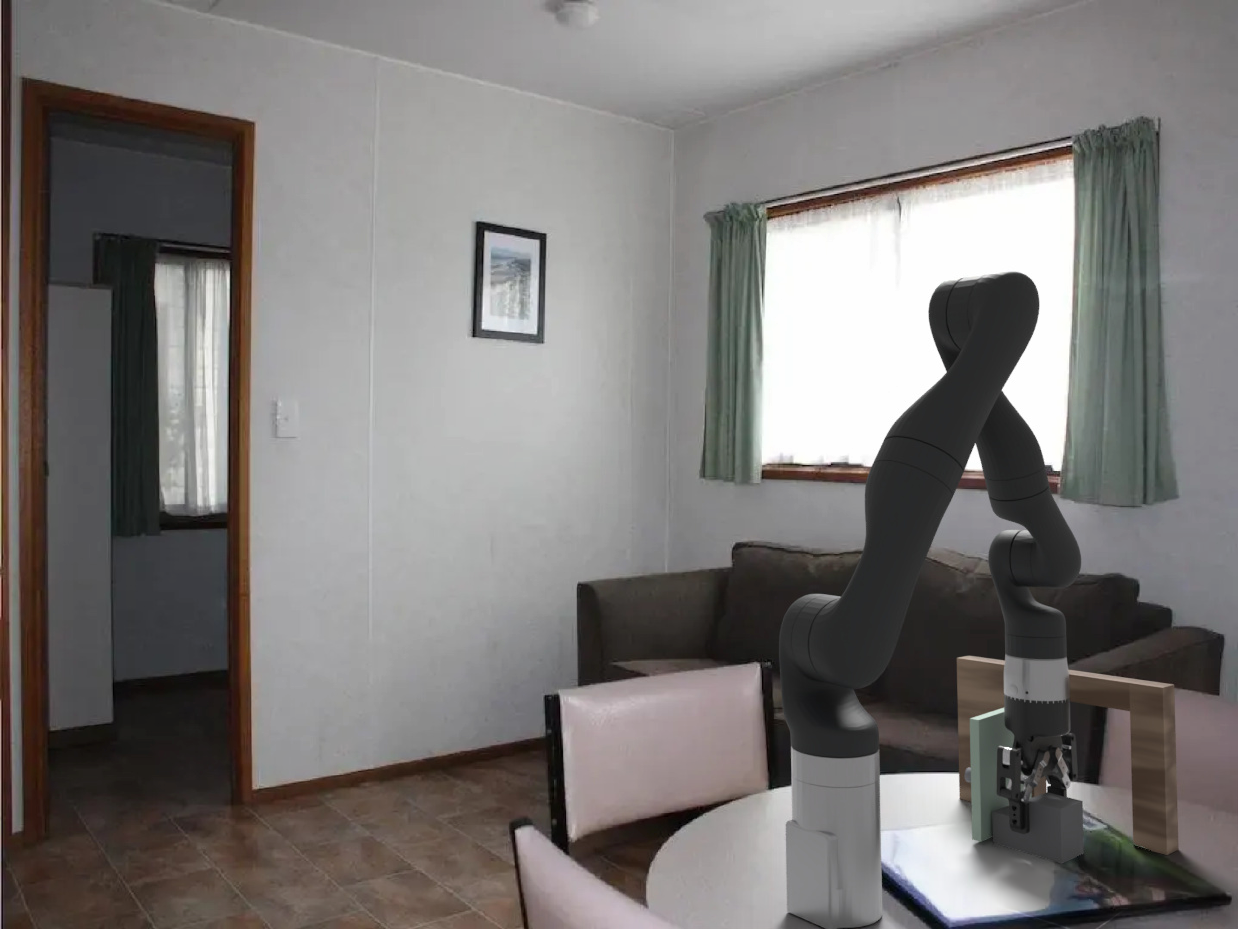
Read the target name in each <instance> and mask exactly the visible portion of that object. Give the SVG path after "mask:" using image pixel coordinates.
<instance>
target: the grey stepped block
mask: <svg viewBox="0 0 1238 929" xmlns="http://www.w3.org/2000/svg"><path fill="white" fill-rule="evenodd" d="M1028 803H1029V820H1030V831H1029V832H1028V833H1026V834H1021V833H1018V832H1014V831H1012V830H1011V829H1010V824H1009V819H1010V818H1009V806H1007V807H1004V808H1001V809H998V810H995V811H992V818H993V836H992V843H993V844H996V845H999V846H1003V847H1006V848H1008V847H1009V849H1011V850H1015V851H1017V852H1018V851H1019V852H1022V853H1024V854H1025V853H1026V854H1028V855H1031V856H1035V857H1038V858H1042V859H1045V860H1048V861H1051V862H1055V863H1058V864H1064V863H1066V862H1068V861H1071V860H1074V859H1075V858H1077V856H1078V857H1079V855H1080V856H1082V855H1083V854H1082V853H1084V852H1085V850H1084V814H1083V813H1084V811H1083V809H1084V808H1083V800H1080V799H1076V798H1071V797H1068V796H1067V797H1064V796H1060V795H1056V794H1052V793H1048V792H1047V793H1044V794H1041V795H1038V796H1036V797H1033V798H1030V799H1029V801H1028ZM1081 854H1082V855H1081Z"/></svg>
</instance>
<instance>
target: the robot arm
mask: <svg viewBox="0 0 1238 929" xmlns="http://www.w3.org/2000/svg"><path fill="white" fill-rule="evenodd" d="M1037 288H1038V287H1037V286H1036V284H1035V281H1033V279H1032V278H1030V277H1029V276H1028V275H1027V274H1025V273H1022V272H1019V271H1014V270H1013V271H1010V270H1004V271H1003V270H1001V271H991V272H985V273H978V274H971V275H963V276H957V277H954V278H949V279H947V280H944V281H942V282H941V283H939V285H938V286H937V287H936V288H935V289H934V291H933V293H932V294H931V298H930V300H929V303H928V322H929V328H930V332H931V335H932V338H933V342H934V344H935V347H936V350H937V352H938V354H939V356H940V359H941V362H942V363H943V367H944V368H945V371H946V373H944V375H943V376H942V377H941V378H940V379H939V380H938V381H937V382H935V384H933V385H932V386H931V387H930V388H929V389H928V390H927V391H925V392H924V393H923V394H922V395H921V396H920V397H918V399H917V400H915V401H914V402H913V403H912V404H911V405H910V406H909V407H908V408H907V409H906V410H905V411H904V412H903V413H902V414H901V415H900V416H899V417H898V418H897V419H896V420H895V421H894V423H892V425H891V427H890V428H889V430H888V432H887V433H886V435H885V437H884V439H883V441H882V443H881V445H880V448H879V450H878V452H877V455H876V457H875V458H874V461H873V463H872V465H871V467H870V469H869V473H868V474H867V478H866V481H865V482H866V483H865V487H864V488H865V489H864V519H865V538H864V539H865V540H864V546H863V550H862V553H861V556H860V558H859V561H858V563H857V565H856V567H855V570H854V571H853V574H852V576H851V579H850V580H849V582H848V584H847V586H846V589H845V590H844V592H843V593H842V595H841V596H838V595H832V594H824V593H809V594H805V595H803V596H800V597H799V598H797V599H796V600H794V602H793V603H792V604H791V605H790V606H789V607H788V609H787V611H786V612H785V614H784V616H783V619H782V622H781V625H780V630H779V639H778V640H779V641H778V658H779V673H780V674H779V675H780V677H779V678H780V691H781V706H782V712H783V716H784V719H785V722H786V725H787V727H788V729H789V733H790V759H791V760H790V764H791V766H790V767H791V772H790V773H791V774H790V775H791V782H790V783H791V819H790V820H788V821H786V822H785V866H786V868H785V869H786V872H785V873H786V874H785V875H786V912H787V913H790V914H792V915H794V916H796V917H799V918H801V919H804V920H805V921H807V922H810V923H812V924H815V925H817V926H820V927H822V928H824V929H843V928H844V929H848V928H849V929H850V928H853V929H854V928H861V927H864V926H870V925H872V924H875V923H876V922H878V920H880V919H881V918H882V916H883V887H882V885H883V882H882V881H883V880H882V879H883V876H882V832H881V830H882V828H881V823H882V822H881V782H880V781H881V780H880V779H881V778H880V777H881V771H880V770H881V767H880V766H881V765H880V764H881V763H880V731H879V726H878V723H877V721H876V720H875V719H874V717H873V716H871V714H870V713H868V712H867V710H866V708H864V707H863V705H862V704H861V702H860V701H859V699H858V697H857V695H856V692H855V690H857V689H858V690H859V689H863V688H865V687H868V686H870V685H872V684H873V683H875V682H876V681H877V680H878V679H879V678H880V676H882V674H883V673H884V672H885V670H886V668H887V667H888V665H889V663H890V661H891V659H892V657H893V654H894V652H895V649H896V646H897V643H898V641H899V637H900V634H901V631H902V628H903V625H904V622H905V618H906V615H907V612H908V609H909V605H910V602H911V600H912V597H913V593H914V590H915V587H916V585H917V582H918V578H919V576H920V572H921V570H922V568H923V566H924V564H925V562H926V559H927V556H928V554H929V551H930V549H931V546H932V543H933V541H934V539H935V536H936V534H937V532H938V530H939V527H940V524H941V522H942V519H943V517H944V515H945V513H946V512H947V510H948V507H949V506H950V504H951V502H952V500H953V497H954V495H955V493H956V490H957V489H958V487H959V484H960V482H961V479H962V477H963V474H964V472H965V470H966V467H967V465H968V462H969V460H970V457H971V455H972V452H973V450H974V448H975V447H976V451H977V452H978V457H979V460H980V463H981V464H980V465H981V469H982V473H983V477H984V481H985V487H986V490H987V495H988V499H989V502H990V503H989V504H990V506H991V509H992V512H993V513H994V515H995V516H996V517H998V518H1000V519H1002V520H1006V521H1008V522H1011V523H1015V524H1018V525H1020V526H1022V527H1023V528H1025V529H1007V530H1006V529H1005V530H1002V531H1000V532H999V533H997V535H996V536H994V538H993V540H992V541H991V543H990V545H989V548H988V557H987V558H988V560H987V561H988V568H989V572H990V576H991V579H992V582H993V585H994V588H995V591H996V595H997V598H998V602H999V606H1000V608H1001V613H1002V616H1003V621H1004V647H1005V650H1004V651H1005V653H1004V654H1005V656H1004V661H1005V665H1004V722H1005V727H1006V728H1007V729H1008V730H1010V731H1011V732H1012V733H1013V734H1014V743H1013V746H1012V747H1010V748H1009V747H1004V746H999V747H998V749H997V795H998V796H1000V797H1004V798H1007V799H1008V801H1009V818H1010V819H1009V824H1010V829H1011V830H1012V831H1014V832H1018V833H1021V834H1026V833H1028V832H1029V831H1030V820H1029V803H1028V801H1029V798H1030V795H1031V792H1032V789H1033V788H1034V787H1037V786H1038V784H1039V781H1040V778H1042V777H1044V776H1045V778H1046V783H1047V784H1048V785H1046V791H1047V792H1048V793H1052V794H1056V795H1060V796H1064V797H1068V795H1067V794H1068V789H1069V788H1070V787H1071V781H1074V782H1076V781H1077V780H1078V777H1079V774H1078V773H1079V772H1078V753H1077V750H1078V749H1077V738H1076V734H1075V733H1073V732H1071V701H1070V682H1069V670H1070V669H1069V665H1068V658H1067V656H1068V653H1067V652H1068V650H1067V649H1068V647H1067V623H1066V622H1067V620H1066V617H1065V615H1064V613H1063V612H1062V611H1061V610H1060V609H1057V608H1055V607H1052V606H1048V605H1045V604H1043V603H1040V602H1038V601H1037V600H1036V599H1035V598H1034V596H1033V595H1032V593H1031V590H1030V587H1031V588H1041V589H1042V588H1043V589H1054V590H1055V589H1056V590H1057V589H1065V588H1067V587H1069V586H1071V585H1073V584H1074V583H1075V581H1076V580H1077V578H1079V577H1078V576H1079V575H1080V572H1081V567H1082V554H1081V549H1080V546H1079V543H1078V541H1077V539H1076V537H1075V535H1074V533H1073V531H1072V530H1071V529H1072V528H1070V525H1069V523H1067V521H1066V519H1065V516H1064V515H1063V513H1062V511H1061V510H1060V507H1059V506H1058V504H1057V502H1056V500H1055V499H1054V497H1053V494H1052V490H1051V487H1050V481H1049V478H1048V474H1047V468H1046V463H1045V459H1044V455H1043V451H1042V449H1041V446H1040V444H1039V440H1038V439H1037V436H1036V434H1035V433H1034V431H1033V430H1032V429H1031V427H1030V426H1029V424H1028V423H1027V421H1026V420H1025V419H1024V417H1022V415H1021V414H1020V413H1019V411H1018V410H1017V408H1016V407H1015V406H1014V405H1013V404H1012V403H1011V401H1010V400H1009V398H1008V397H1007V396H1006V395H1005V392H1004V391H1003V388H1004V387H1005V385H1006V383H1007V381H1008V380H1009V378H1010V377H1011V375H1012V373H1013V371H1014V370H1015V369H1016V367H1017V365H1018V364H1019V361H1020V360H1021V357H1022V356H1023V354H1024V353H1025V351H1026V349H1027V347H1028V346H1029V343H1030V341H1031V339H1032V338H1033V335H1034V332H1035V330H1036V326H1037V324H1038V320H1039V315H1040V296H1039V295H1040V294H1039V291H1038V289H1037ZM1066 762H1067V763H1068V766H1067V764H1066ZM1021 772H1022V773H1023V774H1024V775H1021ZM1006 778H1009V779H1010V780H1009V783H1008V786H1007V787H1006ZM1021 784H1024V786H1023V789H1022V792H1021Z"/></svg>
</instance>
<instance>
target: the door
mask: <svg viewBox="0 0 1238 929" xmlns="http://www.w3.org/2000/svg"><path fill="white" fill-rule="evenodd" d="M1013 743H1014V734H1013V733H1012V732H1011V731H1010V730H1008V729H1007V728H1006V727H1005V722H1004V708H1001V709H998V710H995V711H992V712H989V713H986V714H982V715H979V716H976V717H973V718H970V756H971V768H970V767H968V768H967V769H966V771H965V780H966V782H970V783H971V803H970V804H971V836H972V837H971V839H972V840H973V841H976V842H979V843H980V842H981V843H983V842H984V841H986V840H988V839H991V838H993V818H992V811H995V810H998V809H1001V808H1004V807H1007V806H1009V801H1008V799H1007V798H1004V797H1000V796H998V795H997V749H998V747H999V746H1004V747H1009V748H1010V747H1012V746H1013ZM1021 775H1024V774H1023V773H1022V772H1021ZM1009 780H1010V779H1009V778H1006V787H1007V786H1008V783H1009ZM1023 786H1024V784H1021V792H1022V789H1023ZM1030 798H1032V794H1031V795H1030ZM1030 798H1029V799H1030Z"/></svg>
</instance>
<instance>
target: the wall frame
mask: <svg viewBox="0 0 1238 929" xmlns="http://www.w3.org/2000/svg"><path fill="white" fill-rule="evenodd" d="M1004 665H1005V659H1004V660H1003V659H996V658H991V657H990V658H989V657H983V656H982V657H981V656H975V655H964V656H959V657H956V684H957V689H956V690H957V691H956V692H957V693H956V694H957V731H958V733H957V734H958V736H957V738H958V781H959V783H958V784H959V786H958V787H959V799H960V800H962V801H965V802H966V801H967V802H971V783H970V782H966V780H965V771H966V769H967V768H968V767H970V768H971V756H970V718H973V717H976V716H979V715H982V714H986V713H989V712H992V711H995V710H998V709H1001V708H1004ZM1068 670H1069V682H1070V703H1071V702H1072V703H1078V704H1084V705H1089V706H1097V707H1102V708H1108V709H1113V710H1119V711H1125V712H1129V720H1130V721H1129V722H1130V723H1129V725H1130V762H1131V763H1130V764H1131V765H1130V766H1131V799H1132V801H1131V802H1132V803H1131V806H1132V842H1133V843H1135V844H1136V845H1138V846H1143V847H1145V848H1147V849H1149V850H1148V851H1150V850H1151V852H1153V853H1158V854H1162V855H1166V856H1169V855H1170V854H1172V853H1174V852H1176V851H1178V850H1179V820H1178V819H1179V818H1178V817H1179V816H1178V814H1179V813H1178V812H1179V811H1178V779H1177V776H1178V775H1177V741H1176V740H1177V738H1176V734H1177V733H1176V702H1175V698H1176V696H1175V695H1176V694H1175V684H1173V683H1165V682H1159V681H1153V680H1151V681H1150V680H1143V679H1137V678H1130V677H1125V676H1124V677H1122V676H1115V675H1109V674H1101V673H1095V672H1088V671H1083V670H1082V671H1081V670H1073V669H1068ZM1044 793H1047V780H1046V778H1045V776H1044V777H1042V778H1040V781H1039V784H1038V786H1037V787H1034V788H1033V789H1032V792H1031V794H1032V798H1033V797H1036V796H1038V795H1041V794H1044ZM1133 843H1132V844H1133Z"/></svg>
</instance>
